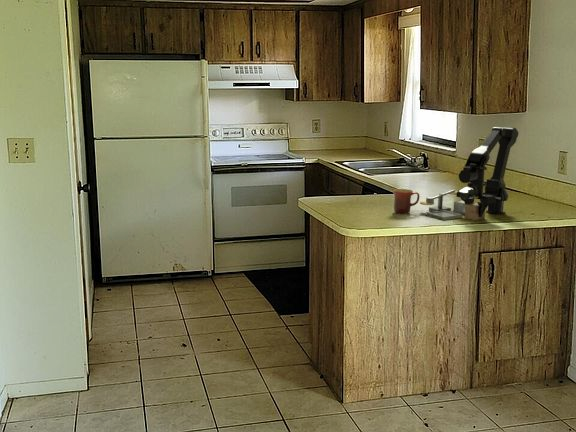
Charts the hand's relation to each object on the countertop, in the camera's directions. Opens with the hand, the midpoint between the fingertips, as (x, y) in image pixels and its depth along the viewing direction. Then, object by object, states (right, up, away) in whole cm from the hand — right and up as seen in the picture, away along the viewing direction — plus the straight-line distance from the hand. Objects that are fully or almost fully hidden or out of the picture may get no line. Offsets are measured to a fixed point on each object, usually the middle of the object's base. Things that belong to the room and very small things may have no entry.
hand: (474, 215), depth 309 cm
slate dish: (-13, 0, +2) cm, 13 cm away
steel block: (-3, +2, +13) cm, 13 cm away
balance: (-12, +2, +15) cm, 19 cm away
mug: (-29, +1, +10) cm, 31 cm away
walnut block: (0, -1, 0) cm, 1 cm away
